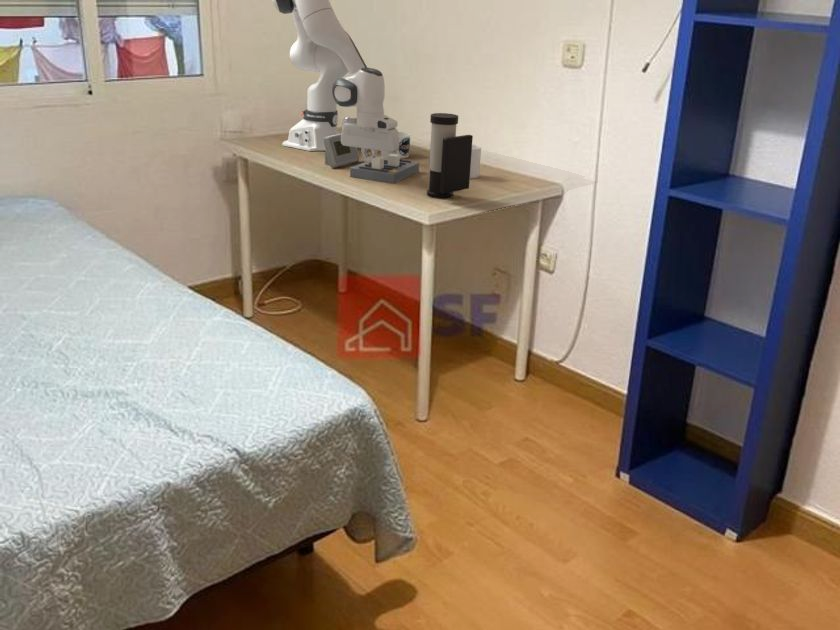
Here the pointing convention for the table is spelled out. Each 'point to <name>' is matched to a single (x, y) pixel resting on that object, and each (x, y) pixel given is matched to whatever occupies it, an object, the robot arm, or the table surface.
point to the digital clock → (339, 152)
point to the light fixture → (448, 157)
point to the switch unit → (385, 171)
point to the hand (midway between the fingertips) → (369, 162)
